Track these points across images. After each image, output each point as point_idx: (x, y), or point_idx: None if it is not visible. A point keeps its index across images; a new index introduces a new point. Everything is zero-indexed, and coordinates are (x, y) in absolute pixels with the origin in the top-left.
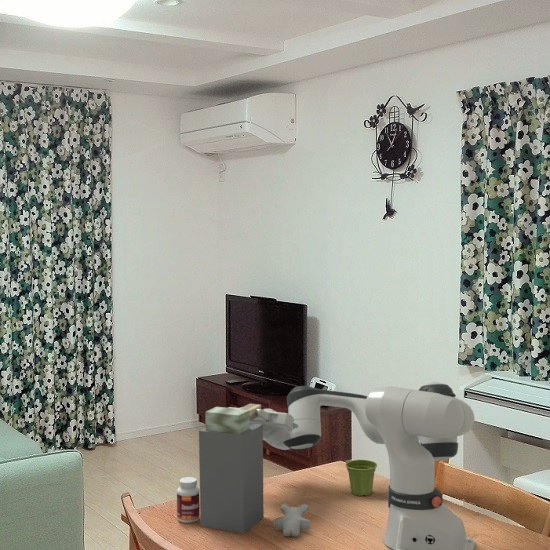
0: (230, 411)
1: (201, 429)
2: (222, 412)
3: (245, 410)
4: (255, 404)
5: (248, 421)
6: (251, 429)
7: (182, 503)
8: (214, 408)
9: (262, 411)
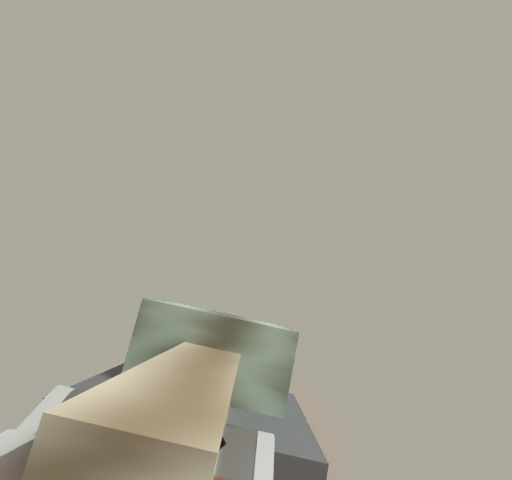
0: (210, 311)
1: (294, 398)
2: (232, 315)
3: (158, 301)
4: (128, 423)
5: (132, 344)
6: (109, 376)
7: None
8: (288, 329)
9: (21, 430)
